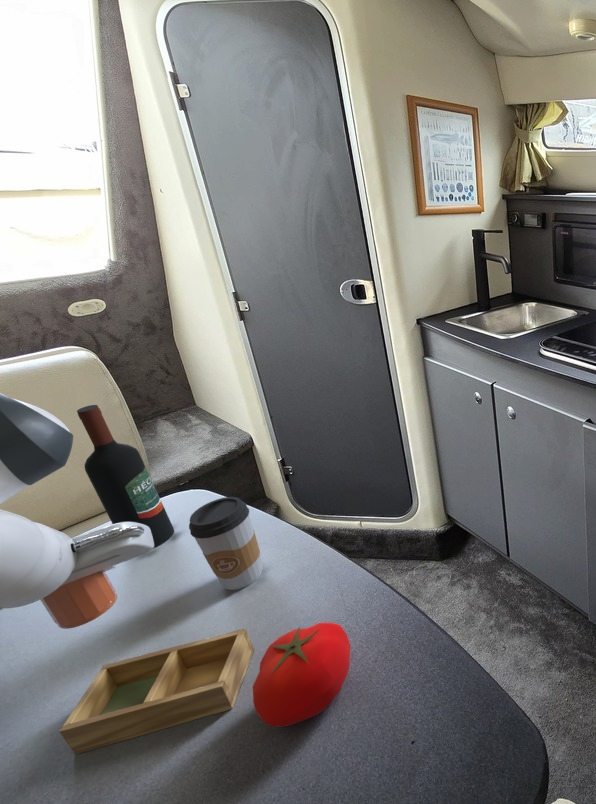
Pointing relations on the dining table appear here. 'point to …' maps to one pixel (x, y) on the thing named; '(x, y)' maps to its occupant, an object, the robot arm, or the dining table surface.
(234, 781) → the dining table surface
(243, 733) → the dining table surface
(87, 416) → the wine bottle
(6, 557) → the robot arm
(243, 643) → the tray
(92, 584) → the tumbler
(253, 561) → the coffee cup
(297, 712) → the tomato
